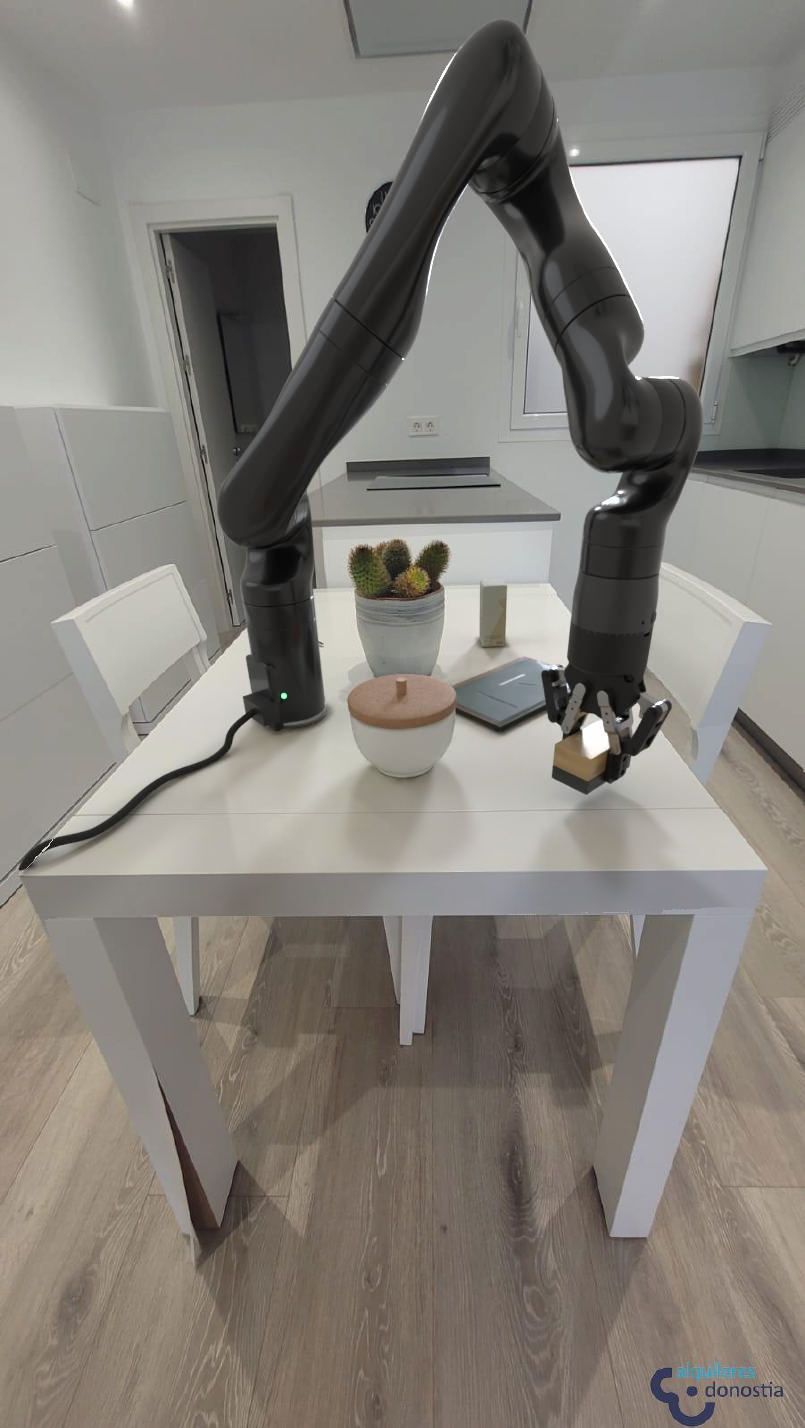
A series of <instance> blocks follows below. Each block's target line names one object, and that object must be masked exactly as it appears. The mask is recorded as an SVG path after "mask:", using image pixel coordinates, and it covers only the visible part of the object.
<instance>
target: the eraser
mask: <svg viewBox="0 0 805 1428" xmlns="http://www.w3.org/2000/svg"><path fill="white" fill-rule="evenodd" d="M581 729H582V730H580V731H578V732H576V733H574V734H573V735H571V736H569V737H567V738H565V739H563V740H562V739H561V740H560V741H558V742H556V743H554V748H553V749H554V752H553V758H552V759H553V760H552V770H551V779H552V780H555V781H557V782H559V783H561V784H562V785H565V786H568V787H569V788H571V789H574V790H576V791H577V792H580V793H581V794H584V795H586V796H587V795H589V794H591V793H592V792H593V791H595V790H596V789H598V788H599V787H601V786H602V785H604V784H605V783H606V782H605V781H604V773H605V772H604V771H605V766H606V759H607V753H608V752H609V751H610V747H609V741H608V734H607V733H605V732H604V728H603V722H602V719H599V720H597V721H594V722H593V723H590V724H589V725H587V726H586V727H584V728H581ZM634 733H635V732H632V734H633V735H634ZM631 759H632V756H630V755H629V756H628V762H627V768H626V770H628V769H629V768H630V765H631Z"/></svg>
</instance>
